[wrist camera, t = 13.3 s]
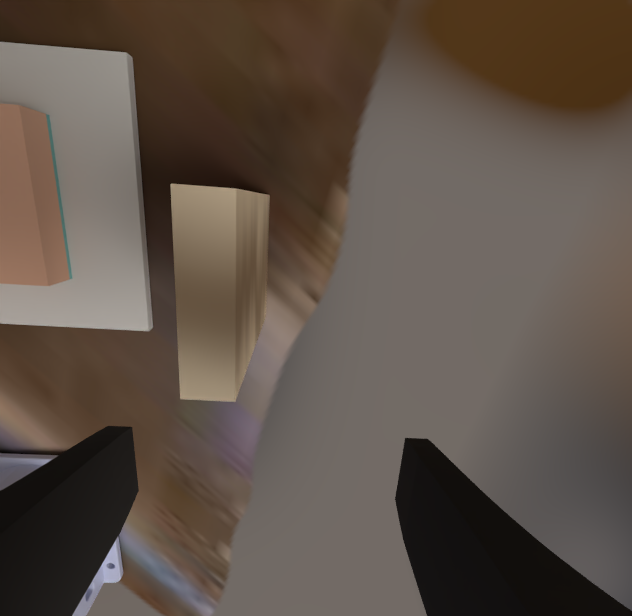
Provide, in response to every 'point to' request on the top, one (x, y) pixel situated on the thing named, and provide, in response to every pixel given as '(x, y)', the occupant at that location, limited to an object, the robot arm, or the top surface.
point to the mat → (86, 186)
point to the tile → (30, 201)
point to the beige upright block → (218, 285)
